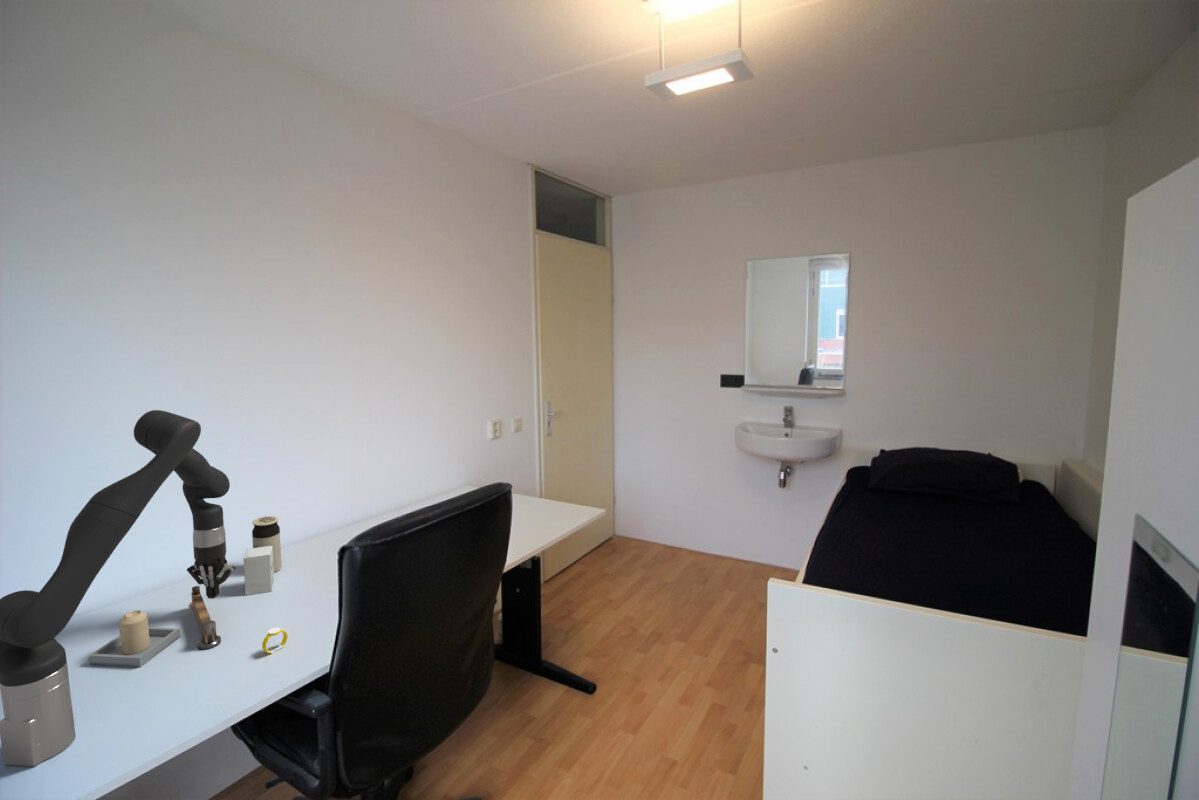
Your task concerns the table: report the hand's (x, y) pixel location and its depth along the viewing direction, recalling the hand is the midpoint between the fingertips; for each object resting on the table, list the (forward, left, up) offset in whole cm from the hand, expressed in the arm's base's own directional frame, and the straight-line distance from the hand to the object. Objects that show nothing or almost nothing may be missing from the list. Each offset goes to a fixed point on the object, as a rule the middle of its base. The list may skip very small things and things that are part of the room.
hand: (212, 597), depth 155 cm
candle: (-18, +7, -5) cm, 20 cm away
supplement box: (+15, -4, -6) cm, 17 cm away
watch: (-15, -27, -6) cm, 31 cm away
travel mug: (+27, +1, -6) cm, 28 cm away
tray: (-18, +7, -5) cm, 20 cm away
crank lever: (-6, -2, -4) cm, 8 cm away
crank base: (-6, -1, -5) cm, 8 cm away
